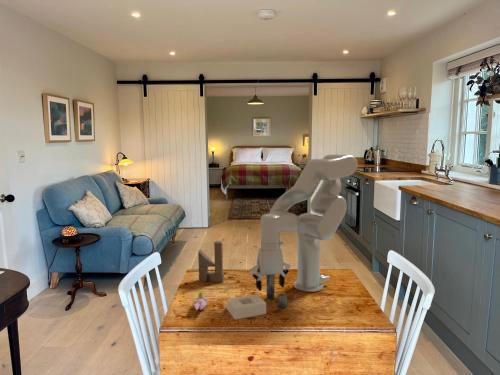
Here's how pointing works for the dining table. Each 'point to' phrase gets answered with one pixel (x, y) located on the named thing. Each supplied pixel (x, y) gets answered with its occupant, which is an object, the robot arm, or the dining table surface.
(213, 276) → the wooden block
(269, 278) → the long pin
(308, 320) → the dining table surface
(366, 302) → the dining table surface
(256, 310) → the hole block
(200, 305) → the pink toy figurine
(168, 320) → the dining table surface
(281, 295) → the short pin
